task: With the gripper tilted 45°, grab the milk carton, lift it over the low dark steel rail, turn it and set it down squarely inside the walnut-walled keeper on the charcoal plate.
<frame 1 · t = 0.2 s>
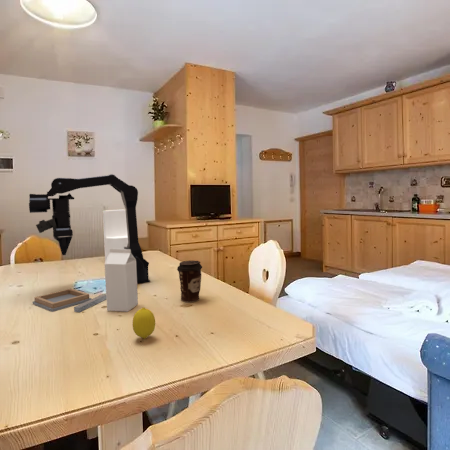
hand: (63, 253, 128), 15 cm above the table, tool pointing down, fingers open, 9 cm apart
keeper plate: (62, 302, 115), on the table
milk carton: (123, 308, 109), on the table
white tall block: (121, 261, 186), on the table
lemon: (144, 339, 85), on the table
steel rail: (91, 304, 112), on the table
coffee cup: (190, 300, 115), on the table
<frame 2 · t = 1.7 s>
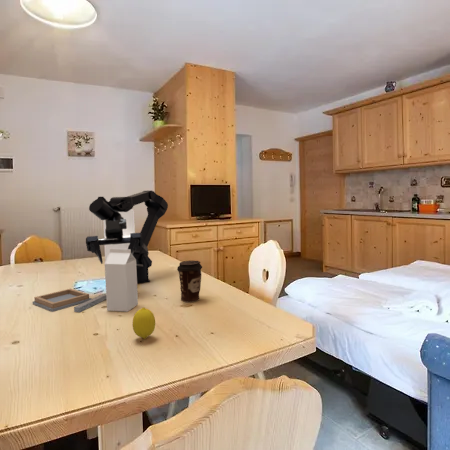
hand: (116, 261, 115), 13 cm above the table, tool tilted 45°, fingers open, 9 cm apart
nothing on the table moved.
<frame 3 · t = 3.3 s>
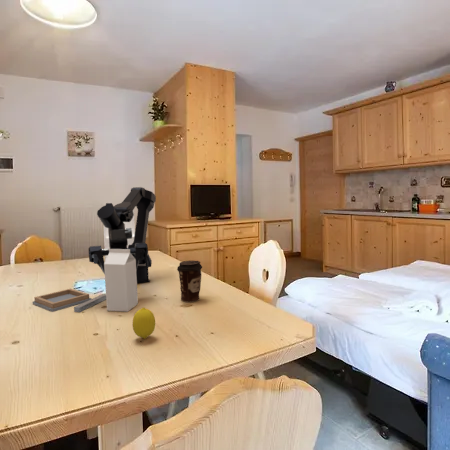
hand: (120, 273, 109), 11 cm above the table, tool tilted 45°, fingers open, 9 cm apart
milk carton: (123, 308, 109), on the table, touching gripper
everything else where it was.
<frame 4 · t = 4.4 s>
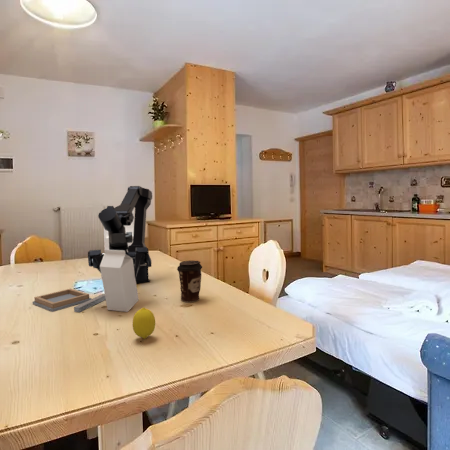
hand: (120, 278, 106), 10 cm above the table, tool tilted 45°, fingers closed on milk carton, 9 cm apart
milk carton: (123, 305, 108), point 1 cm above the table, touching gripper
everything else where it was.
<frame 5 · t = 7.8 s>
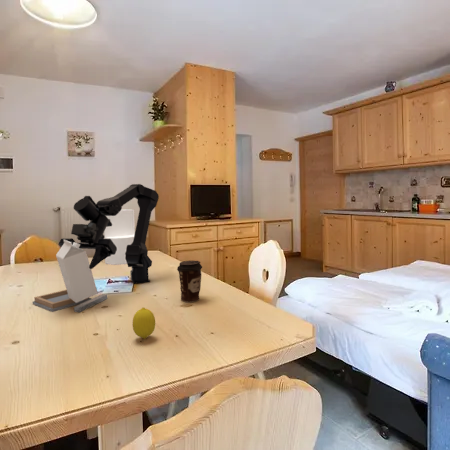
hand: (77, 268, 108), 13 cm above the table, tool tilted 45°, fingers closed on milk carton, 9 cm apart
milk carton: (83, 296, 110), point 3 cm above the table, touching gripper
everything else where it was.
when the fingers open (11 cm above the table, at t = 10.2 s): milk carton stays where it is, point 1 cm above the table.
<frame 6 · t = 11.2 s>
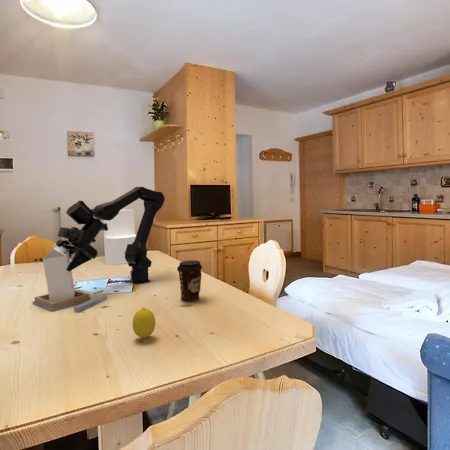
hand: (60, 269, 114), 12 cm above the table, tool tilted 45°, fingers open, 9 cm apart
milk carton: (63, 299, 116), point 1 cm above the table, touching gripper
everything else where it was.
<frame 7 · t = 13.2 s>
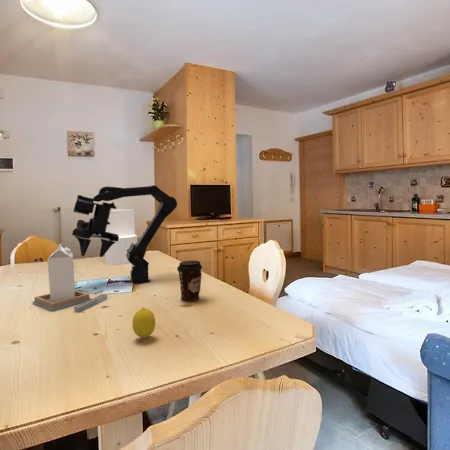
hand: (92, 256, 133), 12 cm above the table, tool tilted 15°, fingers open, 9 cm apart
milk carton: (63, 300, 116), point 1 cm above the table, touching keeper plate
everything else where it was.
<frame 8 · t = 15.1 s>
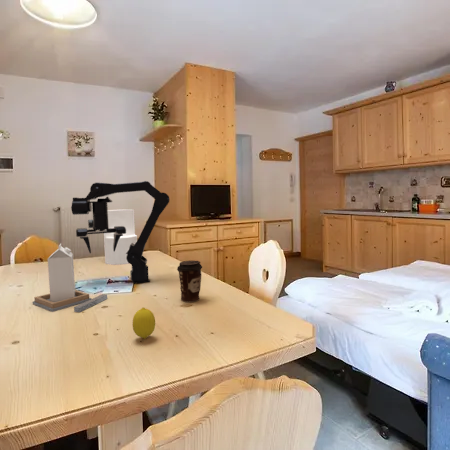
hand: (102, 252, 138), 13 cm above the table, tool pointing down, fingers open, 9 cm apart
nothing on the table moved.
at the end: milk carton 0.4 cm off-centre on the keeper plate, point 0.6 cm above the keeper plate's base; milk carton tilted 0°; the gripper is holding nothing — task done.
